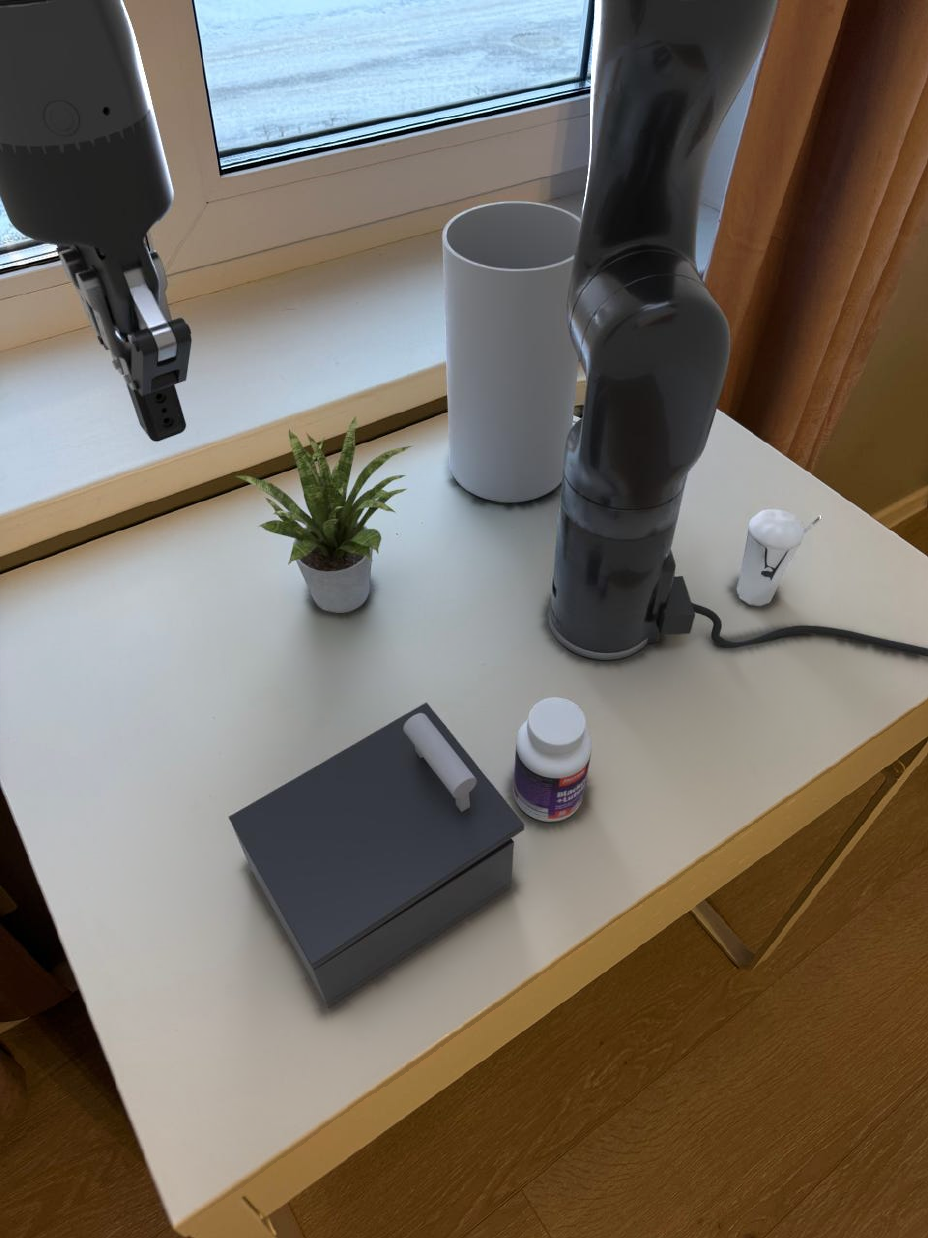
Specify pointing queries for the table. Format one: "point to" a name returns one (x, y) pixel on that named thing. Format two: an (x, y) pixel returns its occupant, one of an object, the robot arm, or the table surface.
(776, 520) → the milkshake
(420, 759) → the lid
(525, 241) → the cylinder vase
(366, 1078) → the table surface
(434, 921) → the dark grey rectangular box
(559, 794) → the pill bottle
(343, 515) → the house plant
